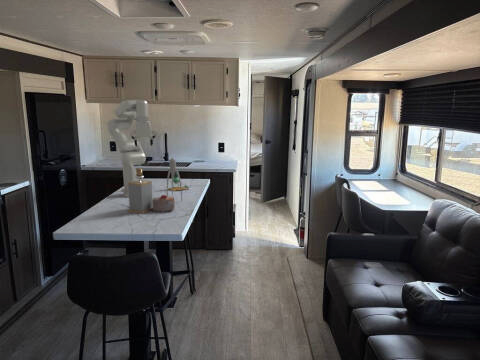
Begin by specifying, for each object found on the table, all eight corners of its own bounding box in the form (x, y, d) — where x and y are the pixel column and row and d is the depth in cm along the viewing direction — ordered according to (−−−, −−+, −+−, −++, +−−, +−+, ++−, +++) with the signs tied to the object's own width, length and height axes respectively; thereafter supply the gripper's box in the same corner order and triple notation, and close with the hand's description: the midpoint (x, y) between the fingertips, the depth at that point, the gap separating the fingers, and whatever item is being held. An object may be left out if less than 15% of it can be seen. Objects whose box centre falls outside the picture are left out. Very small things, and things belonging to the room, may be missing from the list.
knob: (132, 208, 224) (129, 169, 219) (140, 205, 231) (138, 167, 226) (142, 210, 221) (140, 170, 216) (150, 207, 228) (148, 168, 223)
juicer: (179, 203, 242) (178, 159, 236) (166, 202, 244) (165, 158, 238) (184, 199, 252) (183, 156, 246) (172, 198, 254) (171, 156, 248)
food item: (175, 208, 230) (174, 193, 228) (174, 211, 223) (174, 196, 221) (153, 209, 228) (152, 194, 226) (152, 212, 221) (151, 197, 219)
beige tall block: (127, 211, 223) (125, 183, 219) (140, 206, 234) (138, 179, 230) (143, 213, 218) (141, 184, 215) (155, 208, 229) (153, 181, 225)
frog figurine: (187, 191, 275) (184, 173, 272) (165, 193, 278) (162, 174, 275) (191, 188, 284) (188, 170, 281) (169, 190, 288) (166, 172, 285)
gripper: (129, 120, 228) (130, 146, 232) (156, 119, 235) (157, 145, 238) (128, 119, 235) (129, 145, 239) (155, 119, 241) (156, 144, 245)
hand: (143, 145), depth 238 cm, fingers open, 9 cm apart
